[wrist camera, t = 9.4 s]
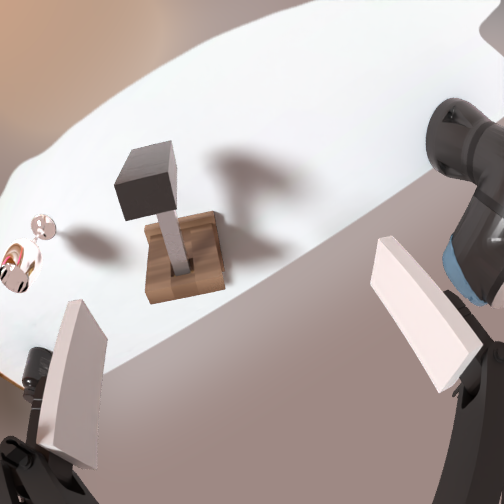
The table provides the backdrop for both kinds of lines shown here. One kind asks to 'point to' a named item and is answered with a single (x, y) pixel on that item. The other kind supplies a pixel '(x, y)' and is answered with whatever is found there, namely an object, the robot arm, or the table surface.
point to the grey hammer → (154, 196)
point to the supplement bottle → (35, 371)
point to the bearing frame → (199, 254)
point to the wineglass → (25, 256)
